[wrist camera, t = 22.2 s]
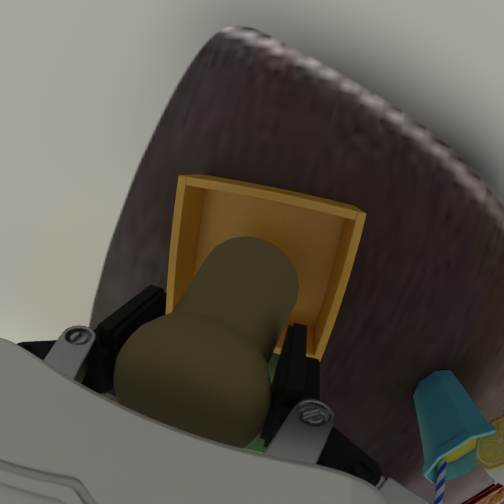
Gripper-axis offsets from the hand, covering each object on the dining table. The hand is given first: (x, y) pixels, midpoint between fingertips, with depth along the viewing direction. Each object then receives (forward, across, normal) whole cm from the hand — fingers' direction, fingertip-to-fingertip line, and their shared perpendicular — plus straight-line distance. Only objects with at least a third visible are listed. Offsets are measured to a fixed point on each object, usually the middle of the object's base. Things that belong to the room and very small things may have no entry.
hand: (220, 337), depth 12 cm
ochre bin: (+12, 0, 0) cm, 12 cm away
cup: (+12, -21, +11) cm, 27 cm away
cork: (+6, 0, 0) cm, 6 cm away
